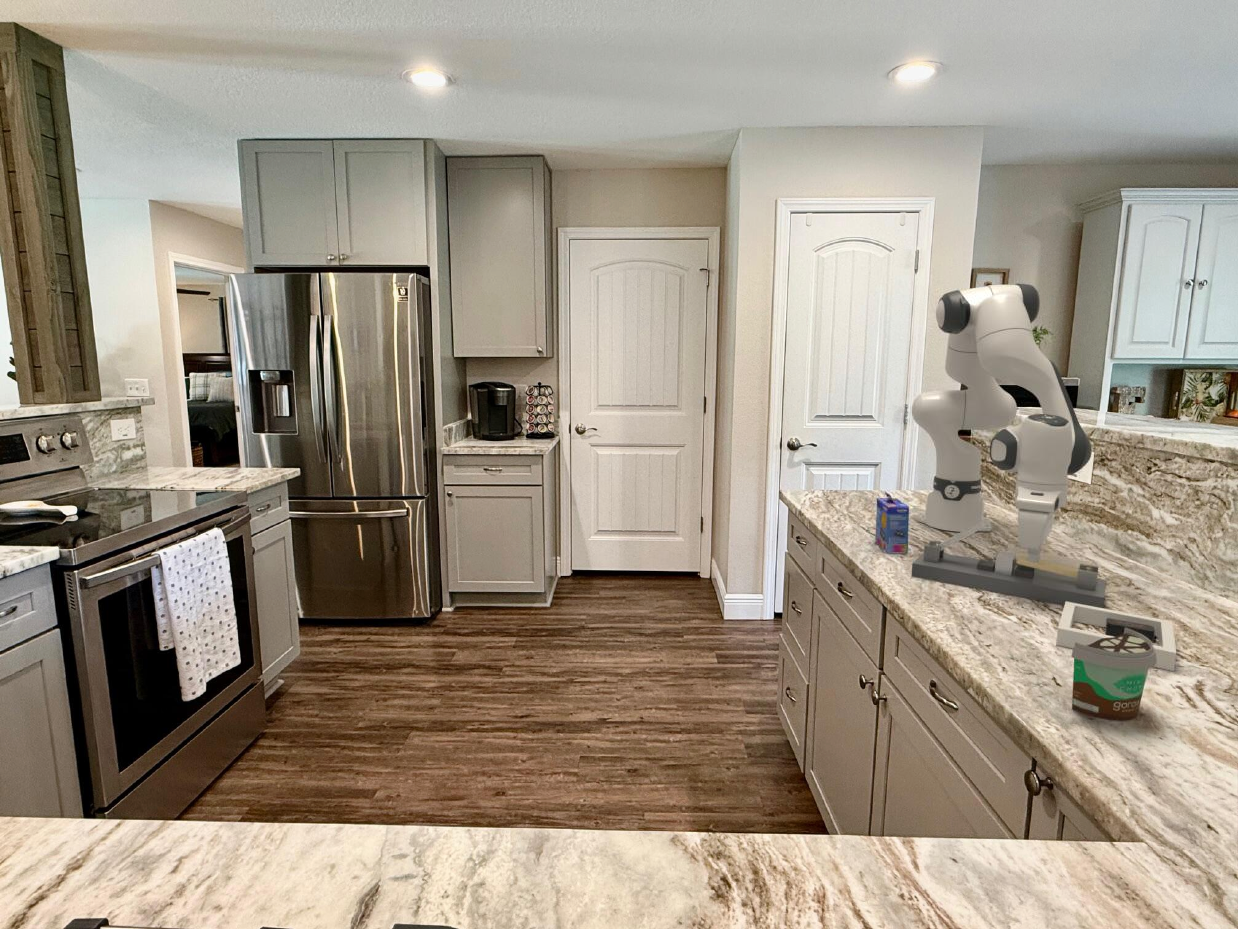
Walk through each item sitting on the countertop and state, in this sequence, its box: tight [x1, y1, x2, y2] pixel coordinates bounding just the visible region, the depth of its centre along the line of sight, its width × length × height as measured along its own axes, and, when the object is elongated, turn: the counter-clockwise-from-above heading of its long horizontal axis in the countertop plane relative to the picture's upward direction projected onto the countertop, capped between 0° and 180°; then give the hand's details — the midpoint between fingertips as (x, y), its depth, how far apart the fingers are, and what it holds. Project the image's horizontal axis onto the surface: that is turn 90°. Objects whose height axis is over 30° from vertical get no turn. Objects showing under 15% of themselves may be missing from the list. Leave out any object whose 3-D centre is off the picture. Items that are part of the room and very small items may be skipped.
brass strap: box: [1016, 555, 1092, 578], centre depth 128 cm, size 3×13×2 cm, turn 51°
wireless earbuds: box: [1104, 618, 1158, 644], centre depth 108 cm, size 5×7×3 cm, turn 55°
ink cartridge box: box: [874, 491, 910, 555], centre depth 160 cm, size 10×6×14 cm, turn 174°
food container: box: [1070, 628, 1157, 722], centre depth 85 cm, size 12×6×10 cm, turn 114°
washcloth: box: [992, 546, 1094, 569], centre depth 146 cm, size 12×18×3 cm, turn 42°
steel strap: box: [934, 520, 986, 551], centre depth 139 cm, size 3×13×2 cm
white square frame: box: [1056, 601, 1177, 672], centre depth 107 cm, size 15×15×3 cm
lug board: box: [911, 540, 1107, 608], centre depth 134 cm, size 12×34×6 cm, turn 51°
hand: (1033, 560), depth 130 cm, fingers closed, pressing on brass strap
